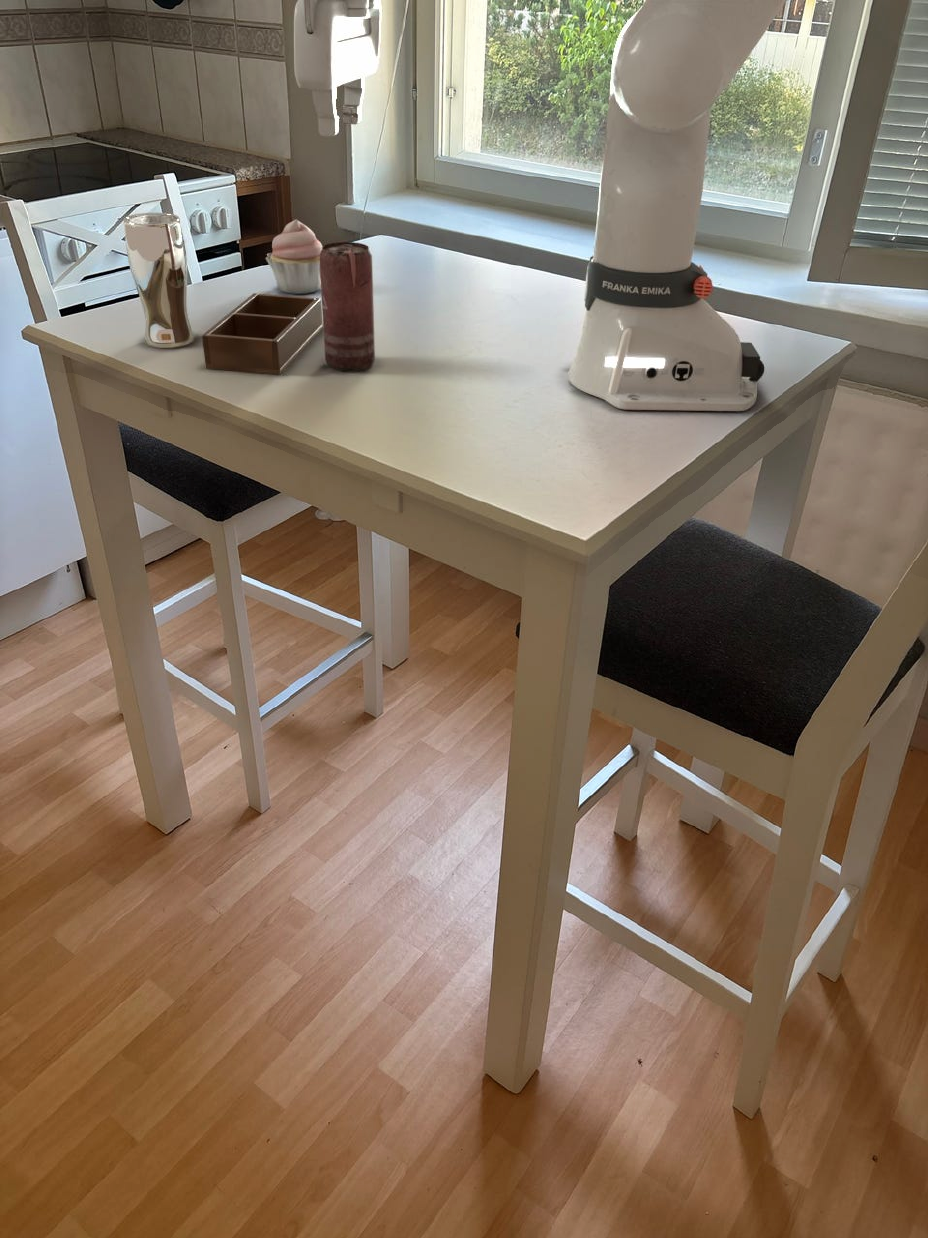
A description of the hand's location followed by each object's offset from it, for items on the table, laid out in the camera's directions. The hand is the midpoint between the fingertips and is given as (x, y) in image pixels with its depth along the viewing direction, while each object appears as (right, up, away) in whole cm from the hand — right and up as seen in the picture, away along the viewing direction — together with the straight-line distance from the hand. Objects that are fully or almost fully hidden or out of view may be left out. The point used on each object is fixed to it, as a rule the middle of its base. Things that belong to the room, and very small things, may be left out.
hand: (341, 129), depth 103 cm
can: (-1, -22, +15) cm, 26 cm away
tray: (-12, -18, +19) cm, 29 cm away
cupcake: (-12, -3, +41) cm, 43 cm away
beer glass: (-25, -17, +20) cm, 36 cm away
